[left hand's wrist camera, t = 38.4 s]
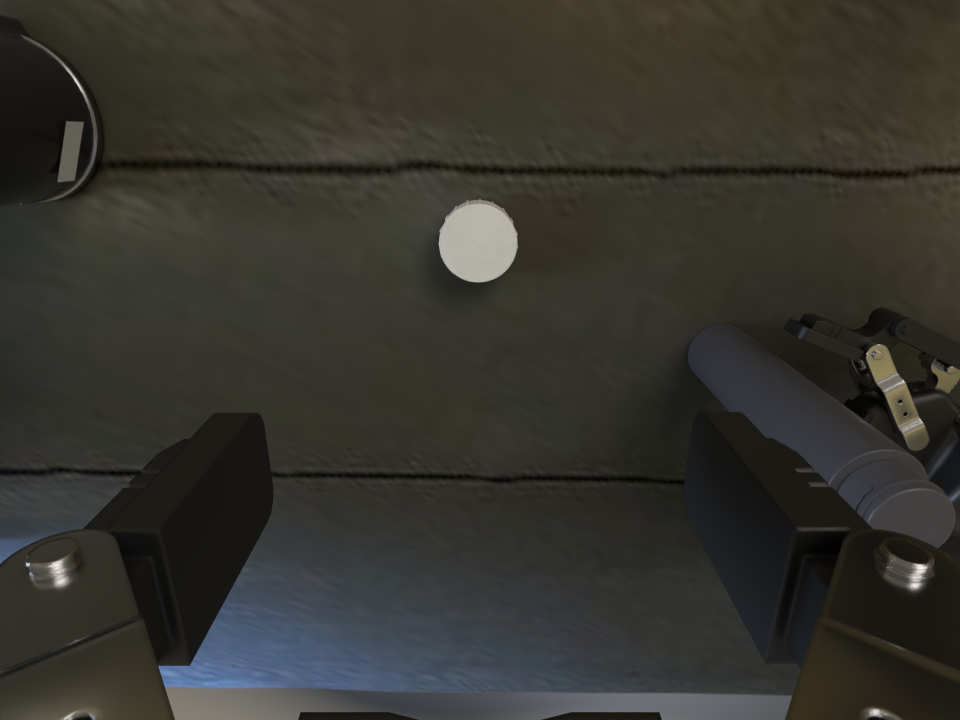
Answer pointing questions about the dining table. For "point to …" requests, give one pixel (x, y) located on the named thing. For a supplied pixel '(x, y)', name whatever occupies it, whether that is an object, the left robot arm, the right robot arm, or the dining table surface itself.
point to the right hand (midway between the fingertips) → (753, 392)
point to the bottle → (822, 434)
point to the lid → (478, 241)
